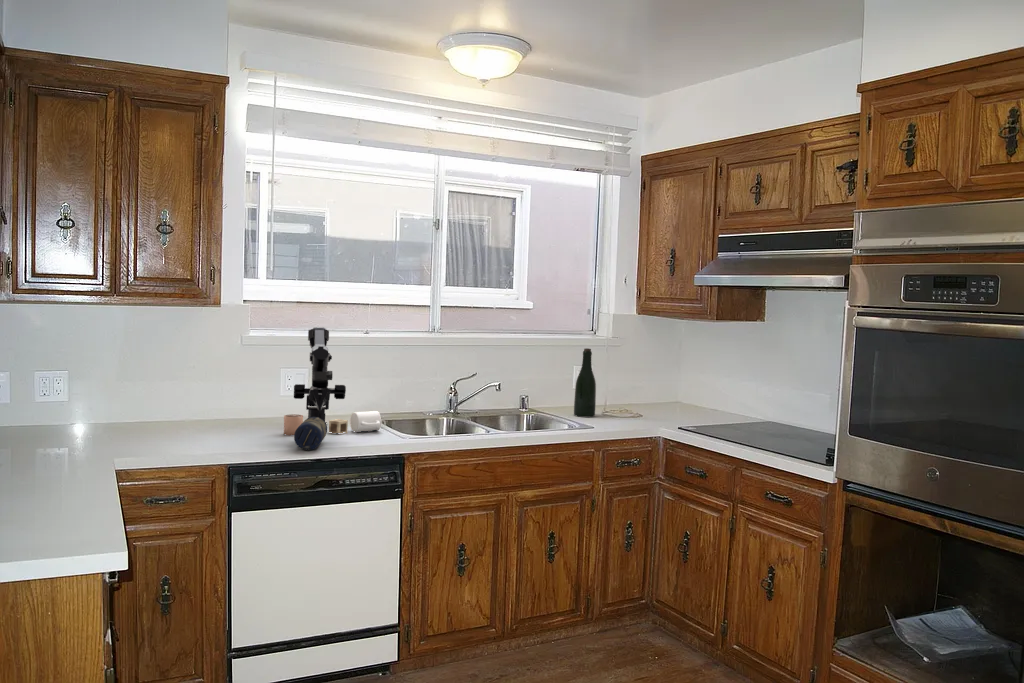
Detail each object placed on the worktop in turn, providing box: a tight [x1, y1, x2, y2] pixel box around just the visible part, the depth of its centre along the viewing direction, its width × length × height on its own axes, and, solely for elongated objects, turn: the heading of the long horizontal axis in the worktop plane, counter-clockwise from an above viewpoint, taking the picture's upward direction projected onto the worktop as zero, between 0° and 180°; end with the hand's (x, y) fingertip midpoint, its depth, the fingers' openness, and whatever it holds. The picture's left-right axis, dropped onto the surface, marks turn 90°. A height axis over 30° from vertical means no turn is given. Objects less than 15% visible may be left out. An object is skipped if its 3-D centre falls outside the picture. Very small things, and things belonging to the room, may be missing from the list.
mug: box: [349, 410, 382, 433], centre depth 303 cm, size 12×10×8 cm
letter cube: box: [328, 418, 349, 434], centre depth 299 cm, size 5×5×5 cm
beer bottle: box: [573, 348, 597, 417], centre depth 371 cm, size 10×10×33 cm
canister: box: [293, 417, 328, 451], centre depth 270 cm, size 10×10×18 cm
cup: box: [283, 413, 304, 436], centre depth 293 cm, size 7×7×7 cm
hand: (319, 409), depth 280 cm, fingers closed
